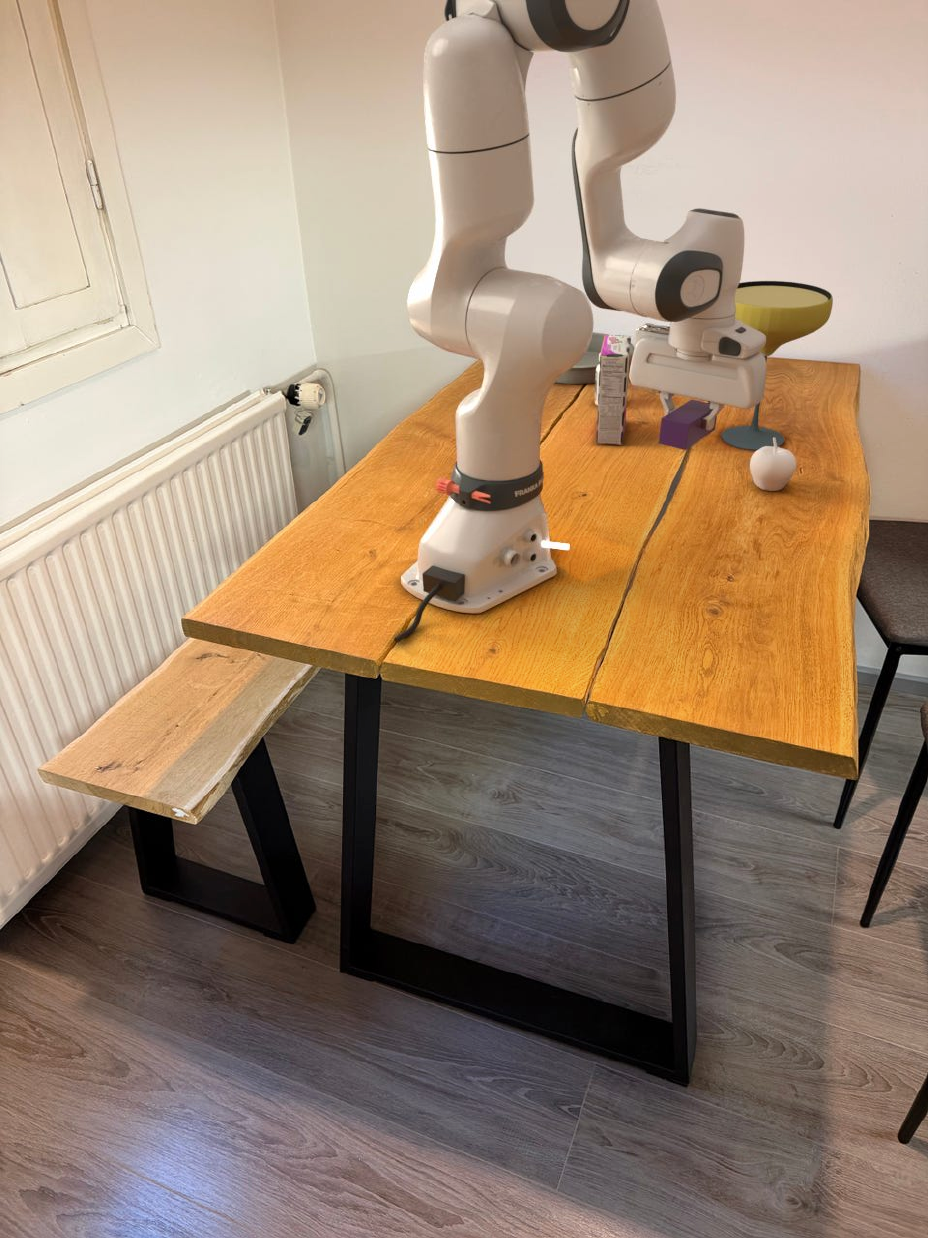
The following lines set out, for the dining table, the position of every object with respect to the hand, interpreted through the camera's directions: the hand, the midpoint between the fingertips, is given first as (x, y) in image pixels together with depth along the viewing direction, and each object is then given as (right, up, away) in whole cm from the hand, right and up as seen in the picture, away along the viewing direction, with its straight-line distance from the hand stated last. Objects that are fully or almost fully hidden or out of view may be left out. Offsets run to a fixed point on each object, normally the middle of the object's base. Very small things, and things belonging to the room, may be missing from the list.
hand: (689, 424), depth 134 cm
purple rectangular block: (0, -2, +1) cm, 2 cm away
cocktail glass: (+17, +3, +24) cm, 30 cm away
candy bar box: (-7, +4, +28) cm, 29 cm away
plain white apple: (+15, -8, +8) cm, 19 cm away
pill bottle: (-6, +13, +41) cm, 43 cm away
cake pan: (-10, +25, +59) cm, 65 cm away
